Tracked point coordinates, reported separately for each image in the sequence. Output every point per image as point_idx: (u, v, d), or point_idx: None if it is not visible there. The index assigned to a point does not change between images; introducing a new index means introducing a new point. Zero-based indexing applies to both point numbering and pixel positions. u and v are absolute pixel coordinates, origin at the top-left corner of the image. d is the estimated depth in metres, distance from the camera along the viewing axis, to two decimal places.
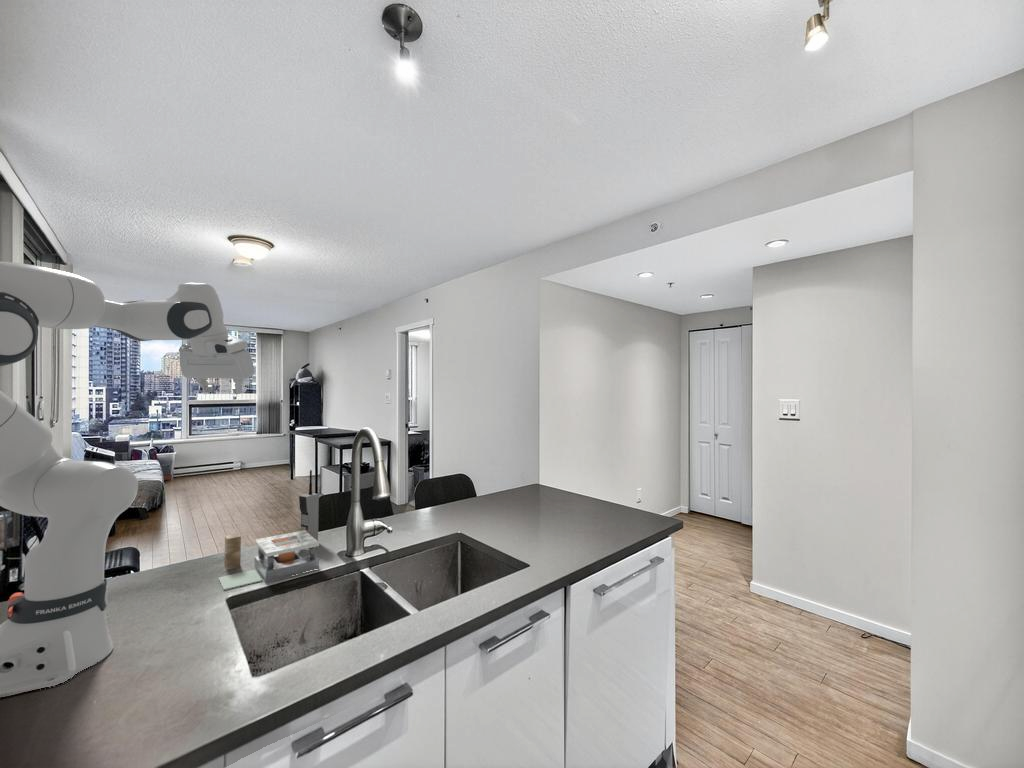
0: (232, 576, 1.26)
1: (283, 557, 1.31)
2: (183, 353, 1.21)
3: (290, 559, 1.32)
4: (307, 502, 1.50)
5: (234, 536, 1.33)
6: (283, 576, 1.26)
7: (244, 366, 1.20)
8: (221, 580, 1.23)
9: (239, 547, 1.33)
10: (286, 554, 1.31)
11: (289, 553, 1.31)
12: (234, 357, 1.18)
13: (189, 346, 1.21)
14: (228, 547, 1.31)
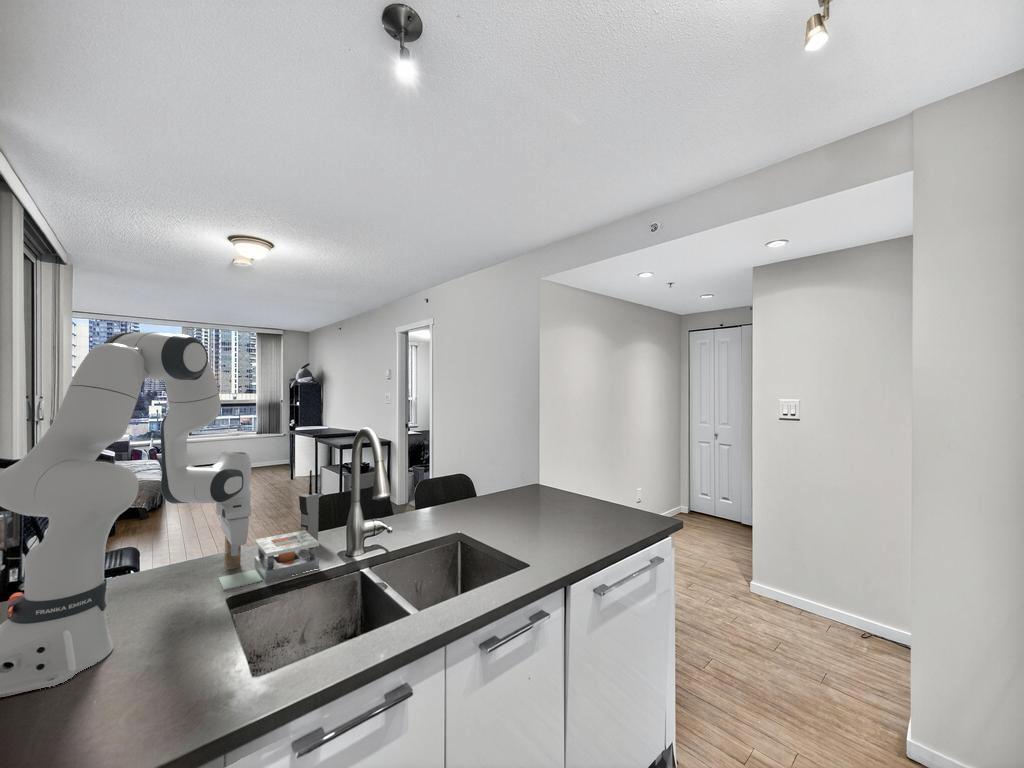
0: (232, 576, 1.26)
1: (283, 557, 1.31)
2: None
3: (290, 559, 1.32)
4: (307, 502, 1.50)
5: None
6: (283, 576, 1.26)
7: (235, 534, 1.25)
8: (221, 580, 1.23)
9: (239, 547, 1.33)
10: (286, 554, 1.31)
11: (289, 553, 1.31)
12: (228, 524, 1.25)
13: None
14: (228, 547, 1.31)
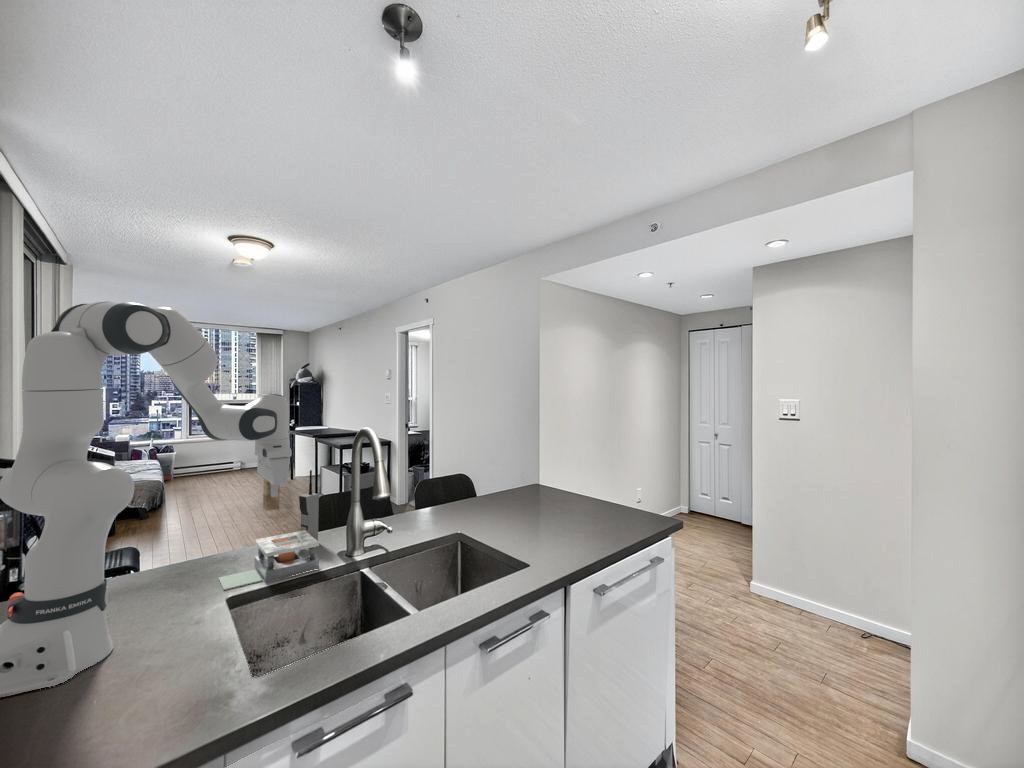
0: (232, 576, 1.26)
1: (283, 557, 1.31)
2: None
3: (290, 559, 1.32)
4: (307, 502, 1.50)
5: None
6: (283, 576, 1.26)
7: (276, 473, 1.25)
8: (221, 580, 1.23)
9: (278, 489, 1.33)
10: (286, 554, 1.31)
11: (289, 553, 1.31)
12: (270, 463, 1.25)
13: None
14: (268, 488, 1.31)
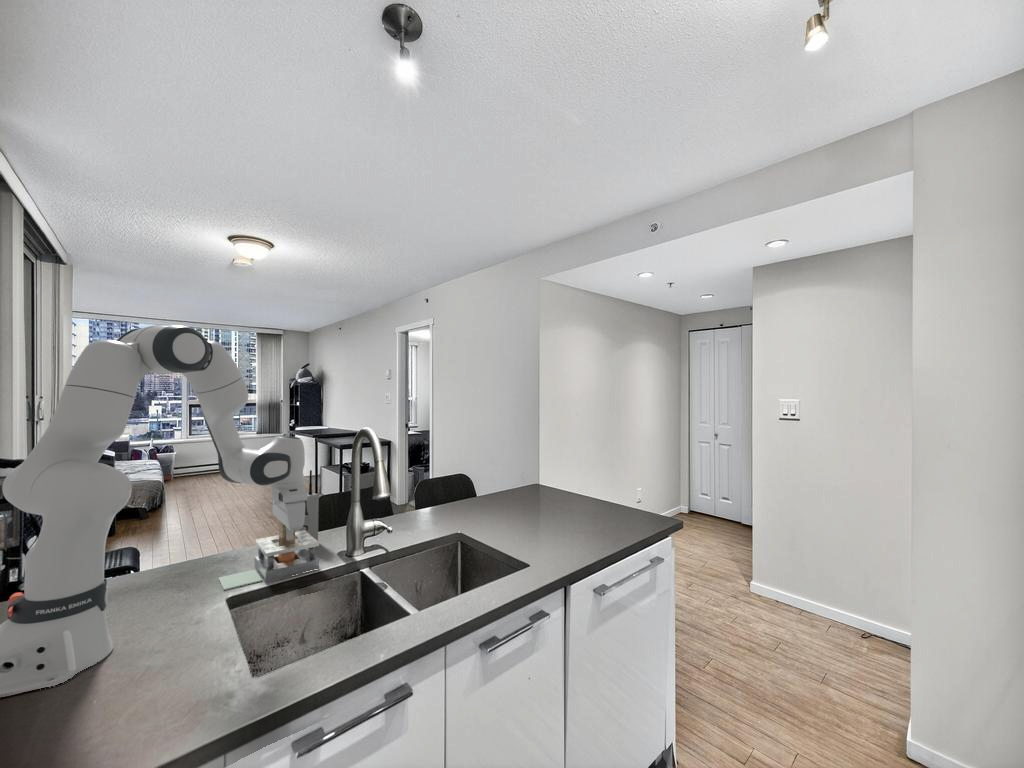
0: (232, 576, 1.26)
1: None
2: None
3: None
4: (307, 502, 1.50)
5: None
6: (283, 576, 1.26)
7: (292, 517, 1.25)
8: (221, 580, 1.23)
9: (294, 532, 1.33)
10: (286, 559, 1.31)
11: (289, 558, 1.31)
12: (286, 507, 1.25)
13: None
14: (283, 531, 1.31)
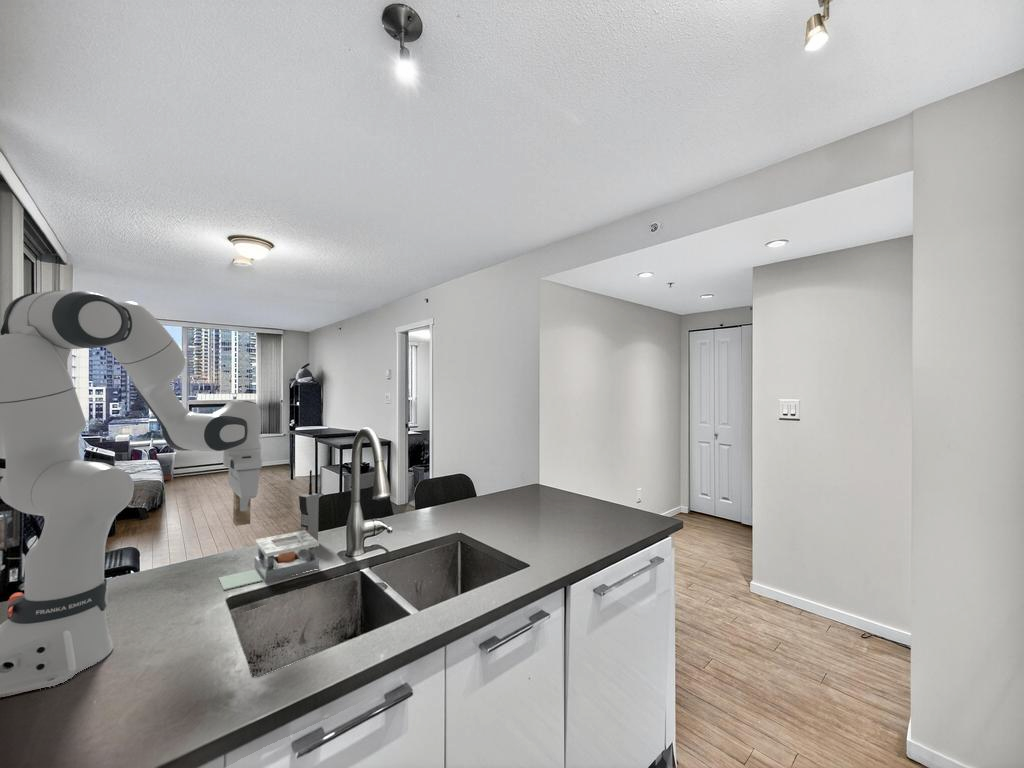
0: (232, 576, 1.26)
1: None
2: None
3: None
4: (307, 502, 1.50)
5: None
6: (283, 576, 1.26)
7: (244, 486, 1.16)
8: (221, 580, 1.23)
9: (249, 502, 1.24)
10: (286, 559, 1.31)
11: (289, 558, 1.31)
12: (237, 475, 1.16)
13: None
14: (237, 502, 1.22)
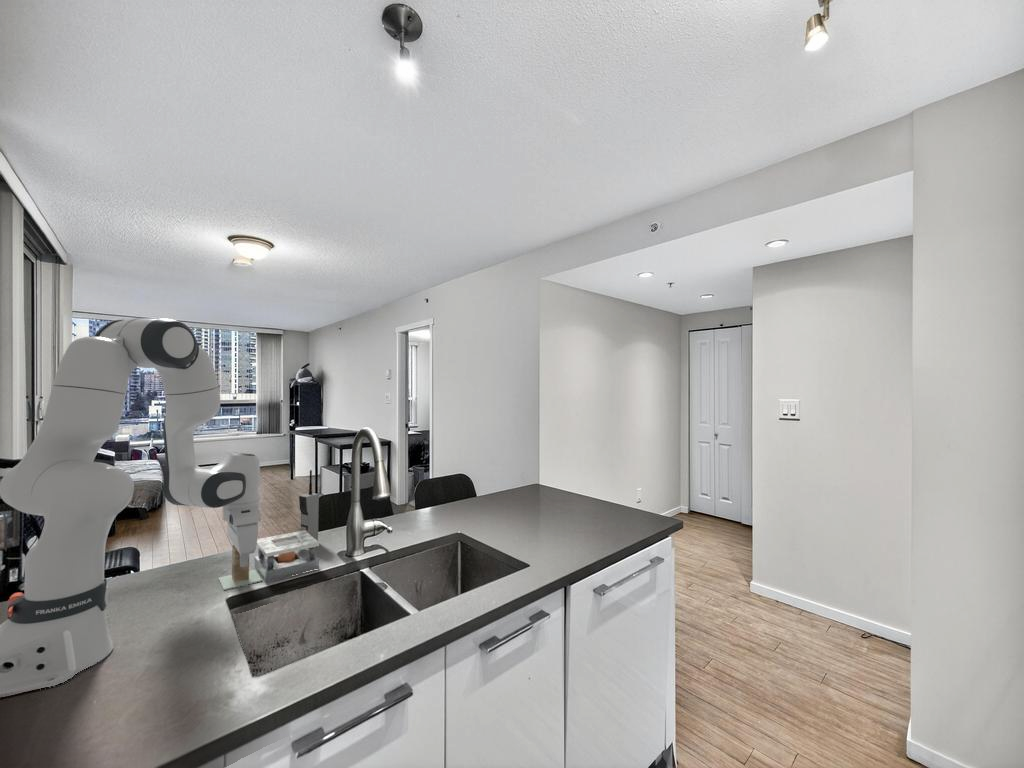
0: None
1: None
2: None
3: None
4: (307, 502, 1.50)
5: None
6: (283, 576, 1.26)
7: (243, 542, 1.16)
8: (221, 580, 1.23)
9: None
10: (286, 559, 1.31)
11: (289, 558, 1.31)
12: (236, 531, 1.16)
13: None
14: (236, 558, 1.22)
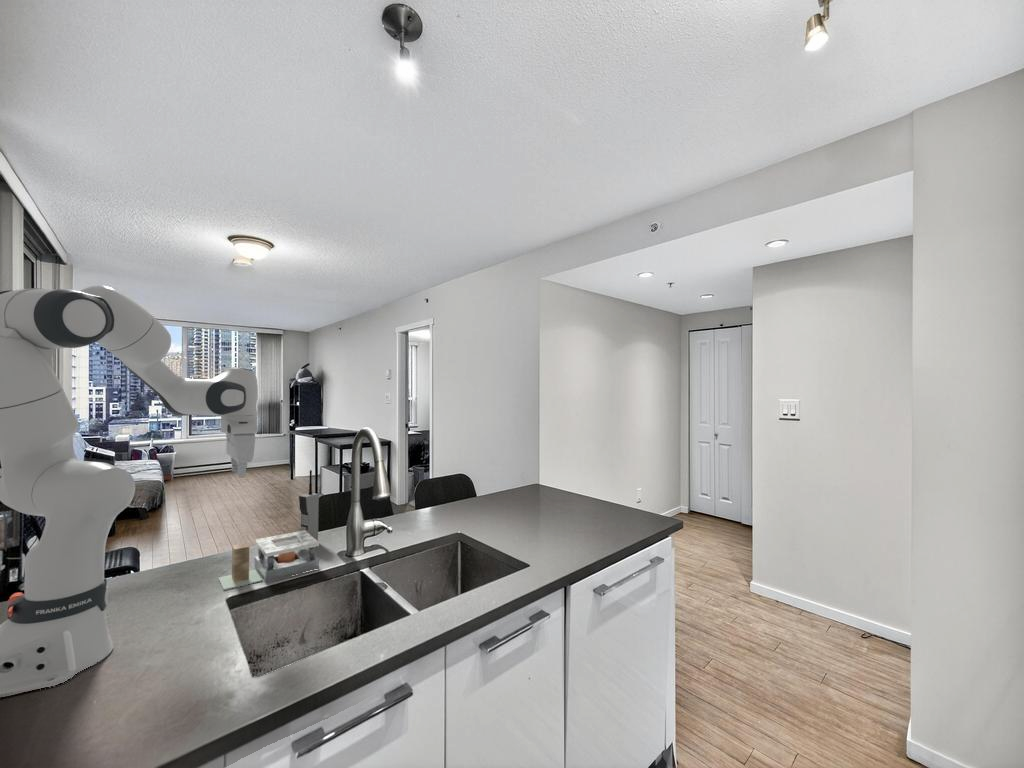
0: None
1: None
2: None
3: None
4: (307, 502, 1.50)
5: (242, 546, 1.24)
6: (283, 576, 1.26)
7: (240, 449, 1.19)
8: (221, 580, 1.23)
9: (247, 558, 1.24)
10: (286, 559, 1.31)
11: (289, 558, 1.31)
12: (234, 439, 1.19)
13: None
14: (236, 558, 1.22)
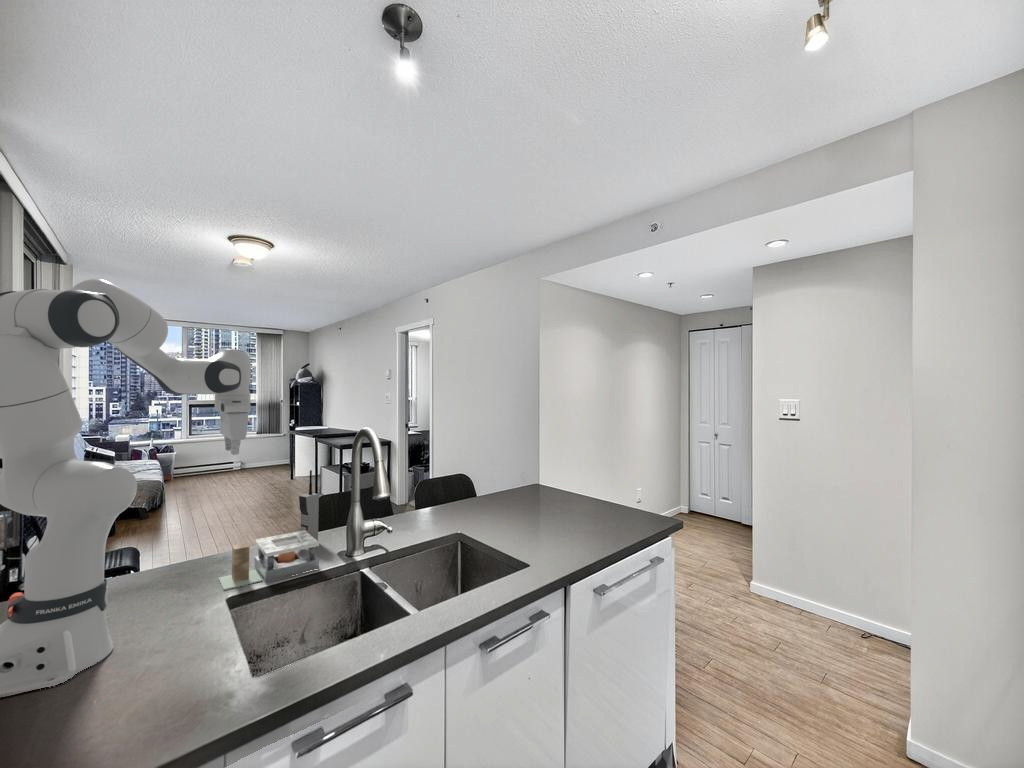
0: None
1: None
2: None
3: None
4: (307, 502, 1.50)
5: (242, 546, 1.24)
6: (283, 576, 1.26)
7: (234, 427, 1.23)
8: (221, 580, 1.23)
9: (247, 558, 1.24)
10: (286, 559, 1.31)
11: (289, 558, 1.31)
12: (227, 417, 1.23)
13: None
14: (236, 558, 1.22)
